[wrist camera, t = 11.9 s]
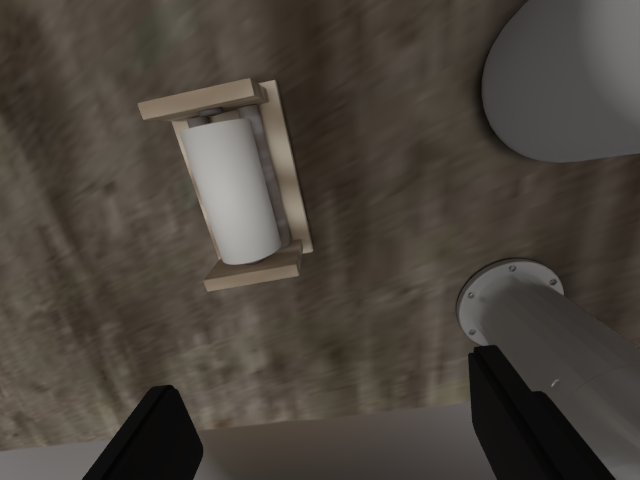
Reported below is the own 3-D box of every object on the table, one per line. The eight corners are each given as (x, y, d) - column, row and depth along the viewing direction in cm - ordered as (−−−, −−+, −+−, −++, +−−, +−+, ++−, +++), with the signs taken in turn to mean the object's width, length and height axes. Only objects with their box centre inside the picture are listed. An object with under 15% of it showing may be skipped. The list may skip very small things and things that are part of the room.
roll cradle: (313, 247, 36) (310, 279, 28) (224, 263, 37) (199, 298, 29) (276, 81, 30) (260, 65, 22) (171, 105, 30) (122, 97, 23)
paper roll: (287, 237, 32) (272, 261, 27) (236, 244, 34) (211, 268, 28) (258, 117, 28) (232, 116, 23) (201, 130, 29) (163, 132, 24)
